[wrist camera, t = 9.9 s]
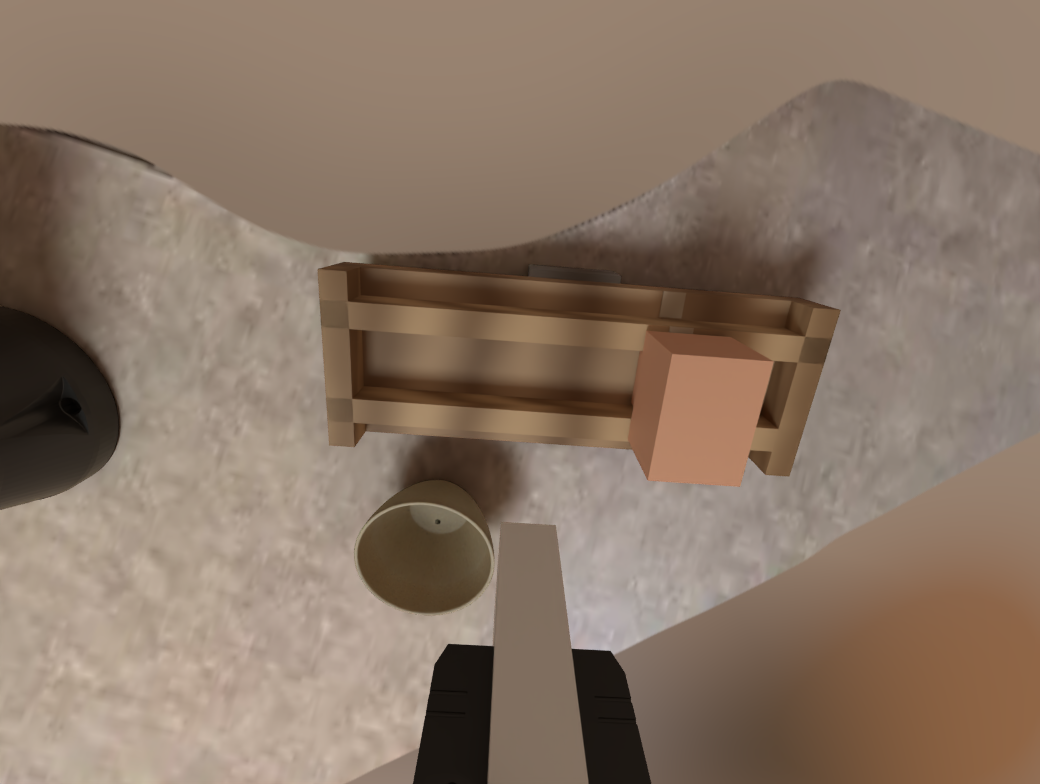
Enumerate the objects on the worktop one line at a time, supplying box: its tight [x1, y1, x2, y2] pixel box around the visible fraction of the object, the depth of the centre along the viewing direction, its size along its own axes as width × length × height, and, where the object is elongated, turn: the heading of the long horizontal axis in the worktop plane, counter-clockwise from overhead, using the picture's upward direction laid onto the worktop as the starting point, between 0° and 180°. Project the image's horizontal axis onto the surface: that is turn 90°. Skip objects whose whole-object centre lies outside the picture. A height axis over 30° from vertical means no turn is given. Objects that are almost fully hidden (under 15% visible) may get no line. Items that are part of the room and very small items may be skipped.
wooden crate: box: [318, 262, 841, 476], centre depth 33 cm, size 30×12×8 cm, turn 86°
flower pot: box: [354, 480, 494, 616], centre depth 38 cm, size 10×10×7 cm
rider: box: [628, 331, 774, 487], centre depth 28 cm, size 5×7×7 cm
